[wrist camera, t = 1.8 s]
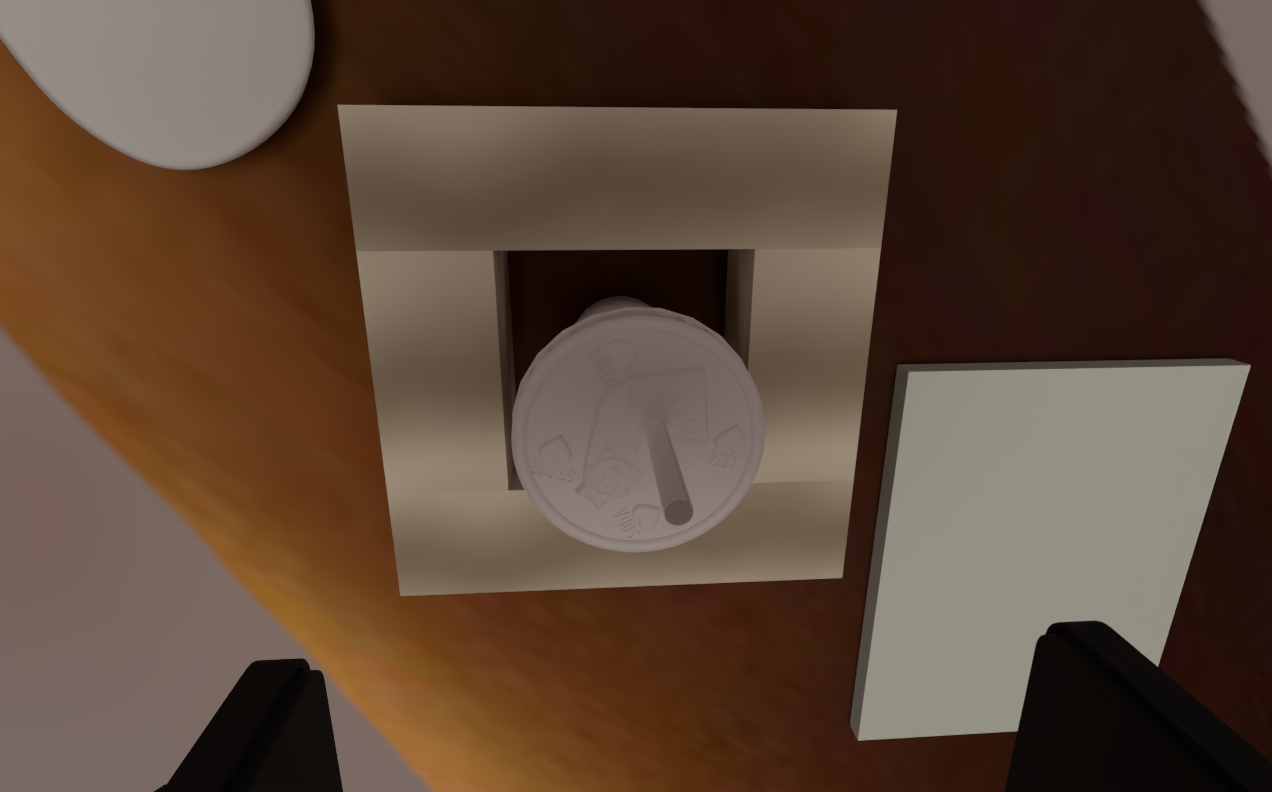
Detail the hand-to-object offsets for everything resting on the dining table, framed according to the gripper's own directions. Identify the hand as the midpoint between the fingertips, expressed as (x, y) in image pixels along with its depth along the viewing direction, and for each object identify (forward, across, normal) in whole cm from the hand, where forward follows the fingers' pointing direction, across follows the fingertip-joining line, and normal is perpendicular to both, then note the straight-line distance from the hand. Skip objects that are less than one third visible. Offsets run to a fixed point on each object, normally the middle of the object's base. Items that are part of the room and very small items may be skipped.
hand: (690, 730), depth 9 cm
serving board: (+18, -18, +9) cm, 27 cm away
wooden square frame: (+18, 0, -1) cm, 18 cm away
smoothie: (+18, 0, -1) cm, 18 cm away
